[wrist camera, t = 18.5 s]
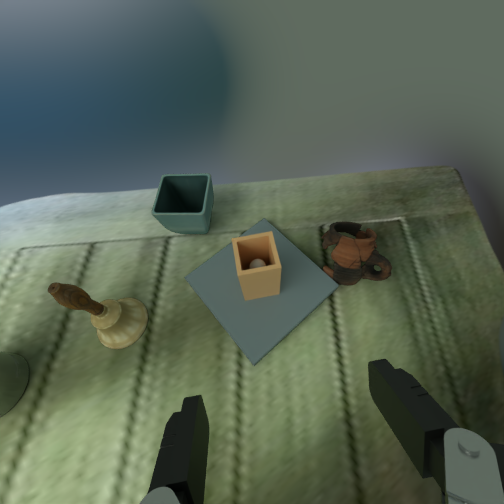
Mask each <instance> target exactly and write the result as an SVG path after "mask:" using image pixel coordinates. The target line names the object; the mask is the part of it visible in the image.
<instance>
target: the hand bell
mask: <svg viewBox="0 0 504 504" xmlns="http://www.w3.org/2000/svg"><path fill="white" fill-rule="evenodd" d="M48 292H49V293H50V294H51V295H52V296H53V297H54V299H55V300H56V301H57V302H58V303H59V304H61V305H63V306H65V307H67V308H70V309H75V310H85V311H87V312H89V313H91V322H92V324H93V326H94V327H96V328H97V335H98V338H99V340H100V342H101V343H102V344H103V345H104V346H106V347H108V348H111V349H121V348H125V347H127V346H129V345H131V344H133V343H134V342H135V341H137V340H138V339H139V338H140V336H141V335H142V334H143V332H144V331H145V328H146V326H147V322H148V312H147V309H146V307H145V305H144V304H143V303H142V302H141V301H139V300H137V299H135V298H123V299H119V300H117V301H116V300H113V299H108V300H104V301H102V302H100V303H98V302H96V301H94V300H92V299H91V298H90V296H89V295H88V294H87V293H86V292H85V291H84V290H82V289H81V288H79V287H77V286H75V285H71V284H61V283H52V284H51V285H50V286H49V288H48Z"/></svg>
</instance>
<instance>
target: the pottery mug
mask: <svg viewBox="0 0 504 504" xmlns="http://www.w3.org/2000/svg"><path fill="white" fill-rule="evenodd" d="M361 226H362V225H360V224H358V223H353V222H336V223H333V224H331V225H330V229H329V230H328V231H327V232H326V233H325V234H324V235H323V236H322V239H323V238H324V242H323V244H322V246H323V248H324V249H327V247H328V246H330V245H333V244H338V245H337V246H336V247H335V248H334V250H333V251H332V253H331V257H332V259H333V260H334V261H335V262H334V270H333V269H331V268H329V267H327V266H324V267H323V271H324V272H325V273H326V274H327V275H328V276H329V277H330V278H331V279H333V280H334V281H335V282H336V283H338V284H340V285H353V284H356V283H357V282H358V281H359V280H360V279H361V278H363V279H370V280H375V281H380V280H385V279H387V278H388V277H389V276H391V270H392V266H391V263H390V262H389V260H388V259H386V258H385V257H384V256H382V255H380V254H379V253H378V251H377V250H374V248H375V249H376V248H377V245H376V242H375V240H376V239H377V234H376V233H375V232H374V231H373V230H372V229H370V228H367V230H366V232H364V231H361V230H360V228H361ZM338 232H346V233H349V234H351V235H353V236H355V237H356V239H353V238H350V237H346V236H343V235H341V234H339V233H338ZM367 238H368V239H367ZM361 262H366V263H365V264H364V265H363V266H362V267H361ZM374 265H378V266H379V267H380V268H381V270H380V271H376V270H374Z"/></svg>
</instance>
